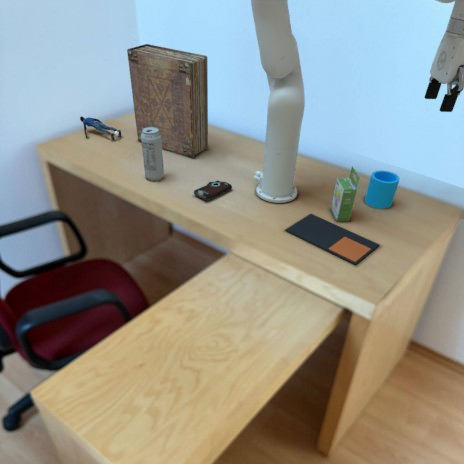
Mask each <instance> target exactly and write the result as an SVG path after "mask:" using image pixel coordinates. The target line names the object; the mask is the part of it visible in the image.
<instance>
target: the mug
mask: <svg viewBox="0 0 464 464" xmlns="http://www.w3.org/2000/svg"><path fill="white" fill-rule="evenodd" d="M400 179H401V178H400V176H399V175H398V174H397V173H394V172H392V171H389V170H381V169H380V170H375V171H373V172H372V173H371V174H370V178H369V182H368V184H367V185H368V186H367V189H366V193H365V196H364V202H365V204H366V205H368V206H369V207H372V208H374V209H380V210H381V209H388V208H391V207H392V205H393V202H394V199H395V196H396V192H397V189H398V186H399V182H400Z"/></svg>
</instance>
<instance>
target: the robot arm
mask: <svg viewBox="0 0 464 464" xmlns="http://www.w3.org/2000/svg"><path fill="white" fill-rule="evenodd" d="M288 1H289V0H250V5H251V12H252V17H253V23H254V30H255V36H256V41H257V45H258V50H259V59H260V64H261V66H262V69H263V71H264V73H266V79H267V83H268V89H269V96H268V101H267V114H266V126H265V127H266V129H265V140H264V153H263V154H264V155H263V166H262V171H260V170H256V171H255V173H254V175H253V177H252V178H253V180H254V181H256V182H258V184H257V186H256V189H255V190H256V191H255V193H256V195H257V196H258V197H259V198H260V199H261V200H263V201H266V202H270V203H275V204H283V203H284V204H285V203H289V202H291V201H293V200H295V199H296V198H297V196H298V188H296V187H295V186H294V181H295V175H296V166H297V160H298V152H299V147H300V145H299V144H300V138H301V129H302V124H303V119H304V114H305V107H306V106H305V103H306V97H305V85H304V79H303V72H302V65H301V59H300V52H299V46H298V42H297V39H296V37H295V35H294V34H293V31H292V25H291V17H290V16H291V15H290V11H289V2H288ZM435 1H436V2H439V3H441V4H450V3H454V4H453V7H452V11H451V14H450V17H449V19H448V21H447V26H446V29H445V31H444V34H443V36H442V38H441V40H440V42H439V45H438V47H437V50H436V51H435V56H434V58H433V61H432V63H431V67H430V70H429V74H430V77H429V79H428V85H427V88H426V90H425V94H424V99H425V100H437V98H438V95H439V93H440V90H441V87H442V85H446V93H445V94H444V95H443V99H442V102H441V104H440V107H439V112H440V113H452V112H453V111H454V109H455V106H456V103H457V99H458V97H459V96H460V95H461V93H462V91H463V90H464V0H435ZM453 86H454V87H453Z"/></svg>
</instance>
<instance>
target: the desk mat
mask: <svg viewBox="0 0 464 464" xmlns="http://www.w3.org/2000/svg"><path fill="white" fill-rule="evenodd" d="M285 232H287V233H289V234H290V235H293V236H295V237H296V238H299V239H301V240H303V241H305V242H307V243H309V244H312V245H313V246H315V247H317V248H319V249H321V250H323V251H325V252H328V253H329V254H331V255H334V256H335V257H338V258H340V259H342V260H343V261H346V262H348V263H350V264H351V265H354V266H356V265H358V264H359V263H360V262H361V261H363V260H364V259H365V258H366V257H368V256H369V255H370V254H371V253H372V252H374V251H375V250H377V248H379V246H380V244H379V243H377V242H375V241H373V240H370V239H369V238H366V237H364V236H361V235H359V234H357V233H355V232H352V231H351V230H348V229H346V228H345V227H344V228H343V227H341V226H339V225H337V224H335V223H332V222H330V221H329V220H326V219H325V218H322V217H320V216H317V215H315V214H313V213H310V214H308V215H306V216H304V218H302V219H300V220H298V221H297V222H295V223H294V224H292V225H290V226H289V227H287V228H286V229H285Z"/></svg>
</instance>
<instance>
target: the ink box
mask: <svg viewBox="0 0 464 464" xmlns="http://www.w3.org/2000/svg"><path fill="white" fill-rule="evenodd" d="M353 174H354V176H353ZM360 179H361V177H360V175H359V174H358V172H357V171H356V169H355V168H354V166H353V165H352V166H351V169H350V173H349V177H340V178H338V177H337V178H336V179H335V186H334V191H333V197H332V202H331V207H330V208H331V209H330V210H331V213H332V215H333V217H334V220H335V221H336V222H350V221H351V216H352V211H353V208H354V203H355V199H356V194H357V191H358V187H359V183H360Z"/></svg>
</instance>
